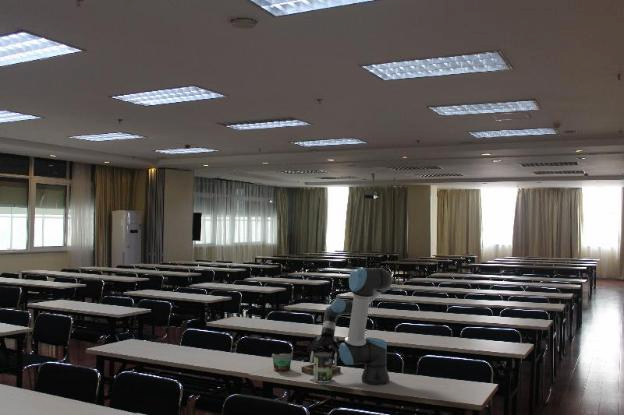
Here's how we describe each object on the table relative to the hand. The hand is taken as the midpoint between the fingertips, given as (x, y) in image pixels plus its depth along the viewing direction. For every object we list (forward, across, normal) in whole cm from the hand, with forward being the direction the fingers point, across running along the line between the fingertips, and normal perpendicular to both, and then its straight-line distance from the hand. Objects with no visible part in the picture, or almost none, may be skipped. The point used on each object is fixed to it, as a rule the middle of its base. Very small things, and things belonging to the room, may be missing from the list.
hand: (322, 363), depth 325 cm
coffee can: (+8, 0, -4) cm, 9 cm away
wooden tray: (-4, +4, -17) cm, 18 cm away
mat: (+8, 0, -5) cm, 9 cm away
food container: (-2, +26, -15) cm, 30 cm away
